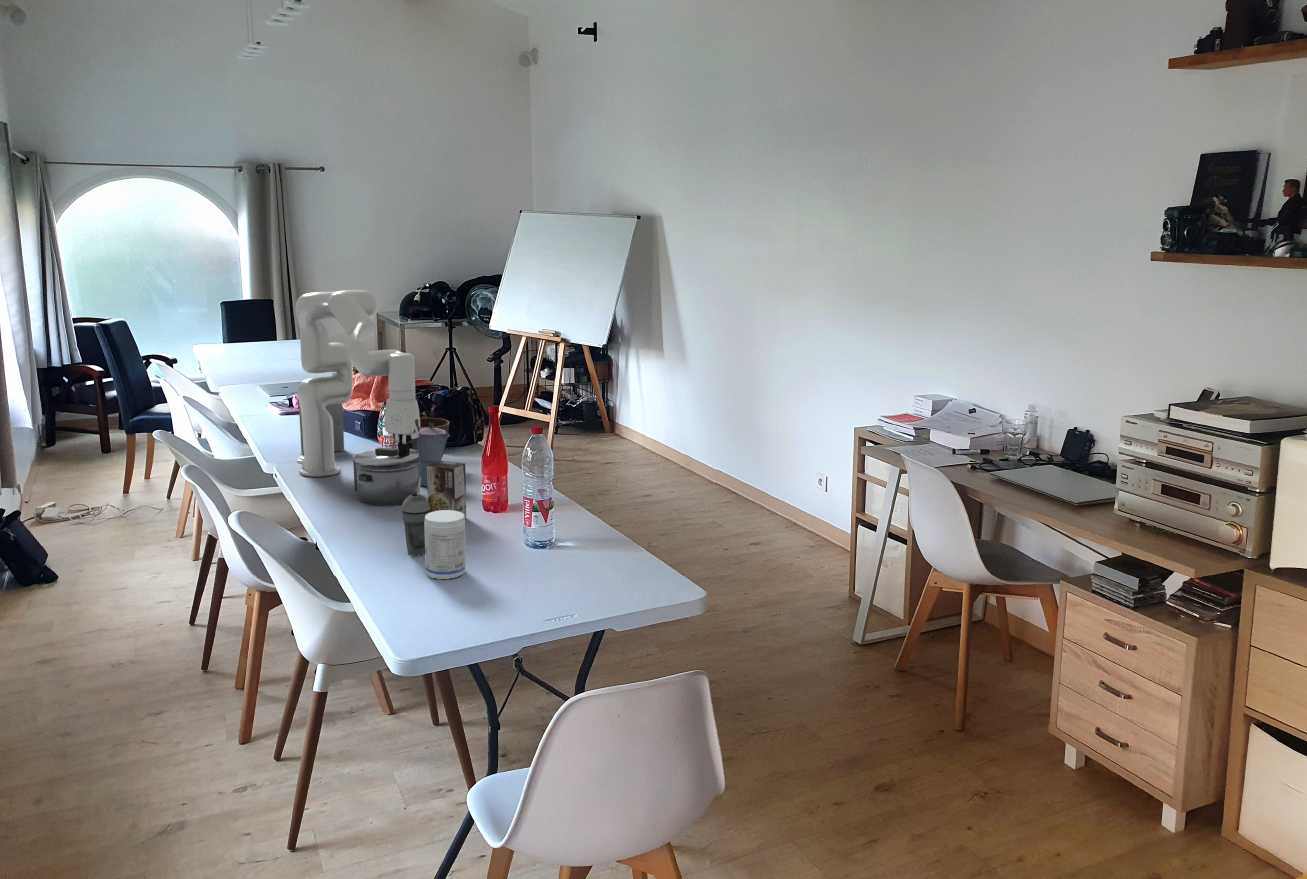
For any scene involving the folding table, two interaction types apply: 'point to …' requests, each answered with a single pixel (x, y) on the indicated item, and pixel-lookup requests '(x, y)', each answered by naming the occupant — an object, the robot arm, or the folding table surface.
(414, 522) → the beverage cup
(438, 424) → the plant pot
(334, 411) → the grey upright box
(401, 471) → the cooking pot
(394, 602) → the folding table surface
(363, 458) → the lid
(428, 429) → the moka pot
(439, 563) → the supplement tub
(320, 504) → the folding table surface
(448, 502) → the coffee box
